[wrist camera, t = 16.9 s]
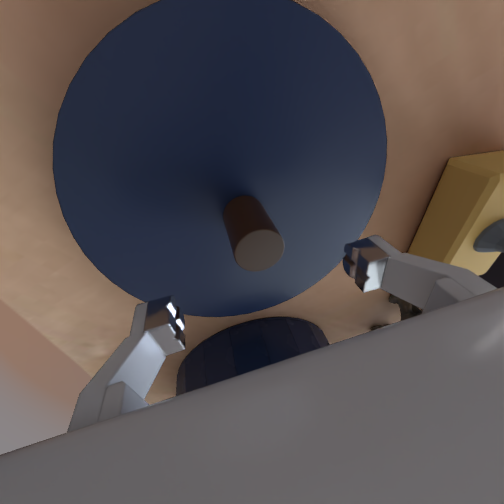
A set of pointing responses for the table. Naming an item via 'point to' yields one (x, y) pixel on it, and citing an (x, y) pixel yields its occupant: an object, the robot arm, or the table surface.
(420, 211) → the table surface
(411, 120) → the table surface
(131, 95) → the pan lid
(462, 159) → the rubber stamp
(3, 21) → the table surface
